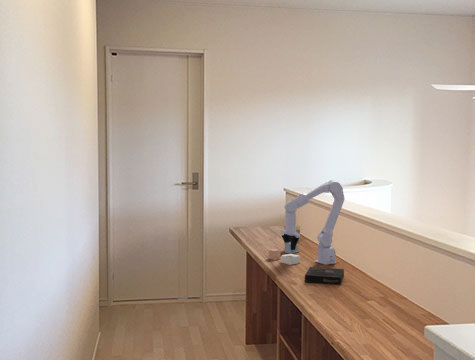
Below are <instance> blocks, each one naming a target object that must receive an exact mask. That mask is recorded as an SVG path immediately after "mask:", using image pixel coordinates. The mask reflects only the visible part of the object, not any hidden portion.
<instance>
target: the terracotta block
mask: <svg viewBox="0 0 475 360" xmlns="http://www.w3.org/2000/svg"><path fill="white" fill-rule="evenodd" d="M268 259H269V260H274V261H276V260H281V249H277V248H271V249H268Z"/></svg>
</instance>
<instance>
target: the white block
mask: <svg viewBox="0 0 475 360" xmlns="http://www.w3.org/2000/svg"><path fill="white" fill-rule="evenodd" d="M300 258H301V257H300V255H297V254H295V253H287V254H282V255H281V254H280V263H282V264H286V265H290V266H292V265H296V264H301V263H300V261H301V260H300Z"/></svg>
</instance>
